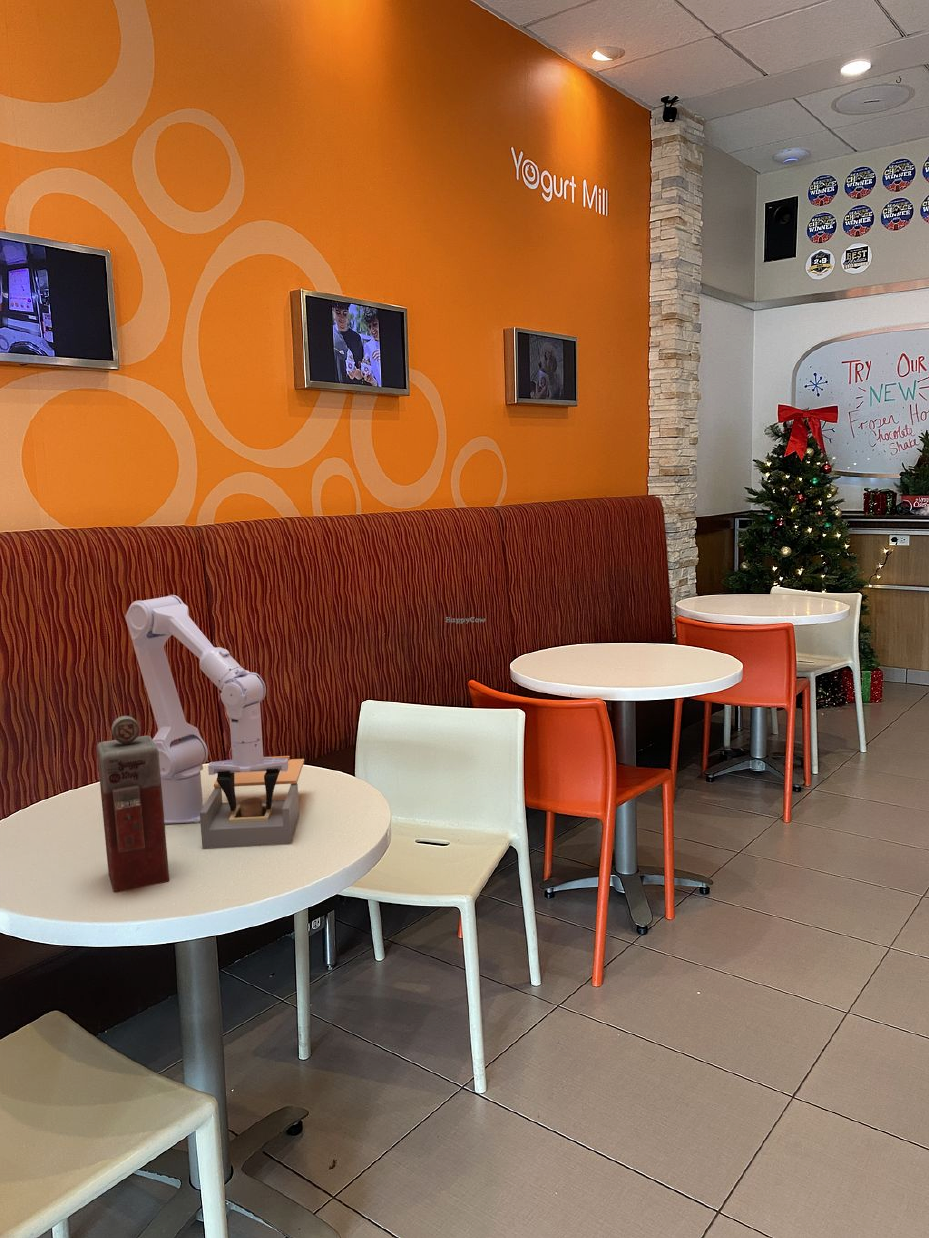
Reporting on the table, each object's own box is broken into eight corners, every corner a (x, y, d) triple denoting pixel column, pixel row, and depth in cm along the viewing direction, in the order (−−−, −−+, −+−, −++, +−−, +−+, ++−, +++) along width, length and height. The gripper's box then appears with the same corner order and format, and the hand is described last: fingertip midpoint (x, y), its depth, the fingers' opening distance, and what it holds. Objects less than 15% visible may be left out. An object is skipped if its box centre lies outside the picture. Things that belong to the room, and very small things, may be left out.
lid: (213, 787, 182) (213, 780, 182) (227, 765, 196) (226, 758, 196) (296, 783, 183) (296, 776, 183) (304, 761, 197) (303, 755, 197)
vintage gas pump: (114, 898, 152) (98, 730, 147) (108, 872, 162) (93, 714, 157) (171, 886, 155) (158, 722, 151) (162, 861, 165) (149, 707, 161)
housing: (202, 848, 171) (199, 812, 170) (217, 820, 185) (215, 787, 183) (290, 843, 172) (288, 808, 171) (299, 816, 185) (297, 783, 184)
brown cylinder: (240, 836, 176) (238, 805, 175) (244, 828, 180) (242, 798, 179) (262, 835, 176) (260, 804, 175) (265, 827, 180) (263, 797, 179)
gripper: (202, 747, 171) (208, 818, 173) (283, 743, 172) (287, 814, 174) (210, 736, 178) (215, 804, 180) (287, 732, 179) (291, 800, 181)
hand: (251, 808), depth 177 cm, fingers open, 6 cm apart
